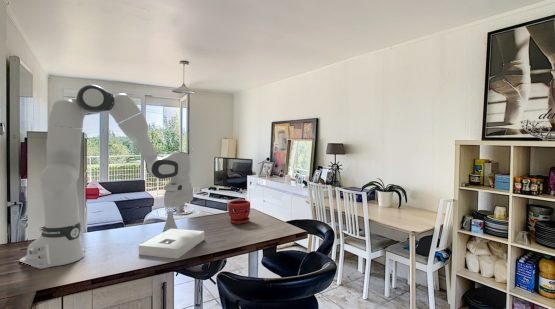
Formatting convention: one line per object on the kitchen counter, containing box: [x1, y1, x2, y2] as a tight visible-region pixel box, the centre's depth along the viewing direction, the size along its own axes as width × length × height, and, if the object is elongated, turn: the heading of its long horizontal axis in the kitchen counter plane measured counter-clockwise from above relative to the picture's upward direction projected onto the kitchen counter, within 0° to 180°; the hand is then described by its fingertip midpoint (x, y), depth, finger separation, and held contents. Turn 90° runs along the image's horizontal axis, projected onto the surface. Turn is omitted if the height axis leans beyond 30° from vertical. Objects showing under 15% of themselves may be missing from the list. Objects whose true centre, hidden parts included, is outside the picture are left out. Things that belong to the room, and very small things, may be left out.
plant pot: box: [227, 199, 251, 225], centre depth 174 cm, size 13×13×12 cm
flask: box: [162, 210, 179, 232], centre depth 157 cm, size 7×7×10 cm
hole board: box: [138, 228, 205, 259], centre depth 133 cm, size 18×24×4 cm
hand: (179, 213), depth 142 cm, fingers closed
